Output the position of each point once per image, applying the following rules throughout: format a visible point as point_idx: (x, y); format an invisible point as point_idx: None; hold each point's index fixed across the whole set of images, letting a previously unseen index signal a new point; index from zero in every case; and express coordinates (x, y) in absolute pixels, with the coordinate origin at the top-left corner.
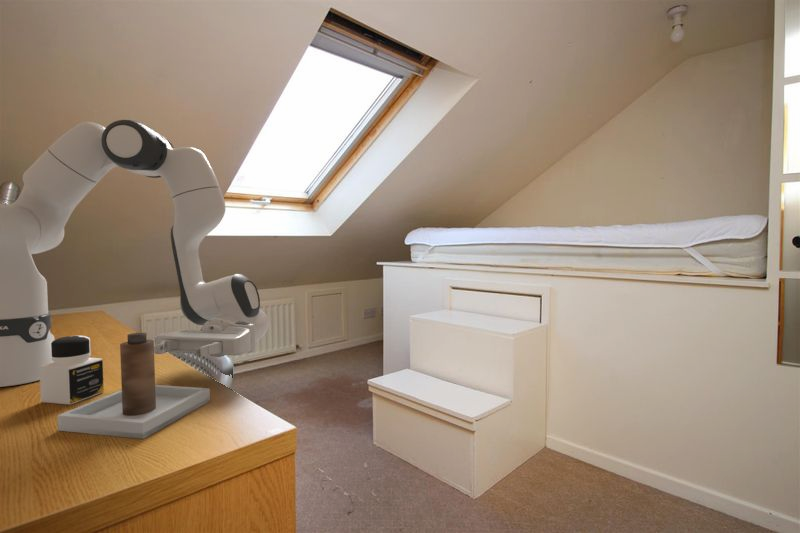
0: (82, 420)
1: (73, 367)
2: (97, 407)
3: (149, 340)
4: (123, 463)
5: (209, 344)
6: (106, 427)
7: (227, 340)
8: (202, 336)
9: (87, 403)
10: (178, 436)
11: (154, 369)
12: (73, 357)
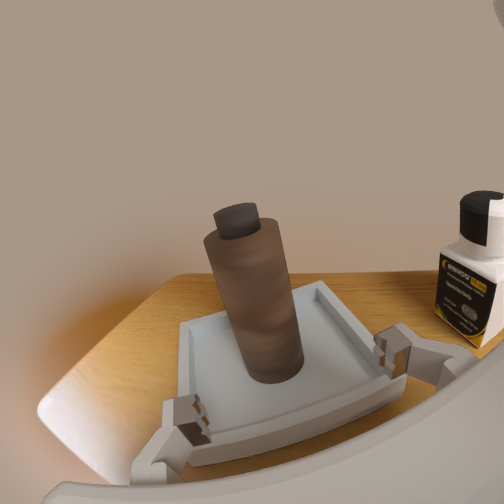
0: None
1: (444, 252)
2: (338, 320)
3: (232, 243)
4: (167, 315)
5: (164, 440)
6: None
7: (93, 484)
8: (280, 480)
9: (341, 302)
10: (149, 360)
11: (231, 313)
12: (460, 236)
